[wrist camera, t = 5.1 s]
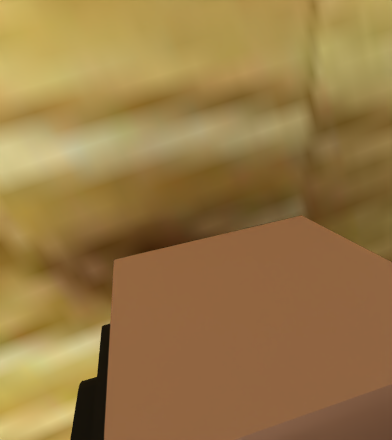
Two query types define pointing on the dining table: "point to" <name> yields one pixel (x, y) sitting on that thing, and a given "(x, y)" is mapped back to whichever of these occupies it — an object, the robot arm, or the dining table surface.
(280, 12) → the dining table surface
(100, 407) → the robot arm
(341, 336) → the terracotta cube
